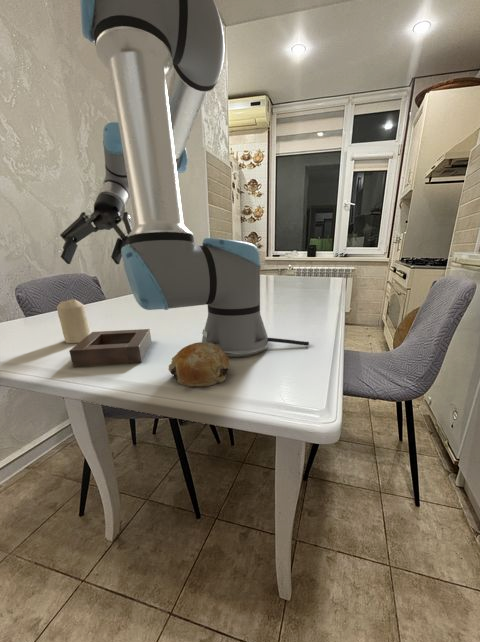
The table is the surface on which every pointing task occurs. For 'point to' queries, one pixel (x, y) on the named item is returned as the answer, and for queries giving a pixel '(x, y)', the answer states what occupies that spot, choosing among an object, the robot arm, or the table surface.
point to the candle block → (111, 348)
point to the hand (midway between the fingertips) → (90, 260)
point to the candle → (73, 321)
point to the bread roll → (199, 365)
